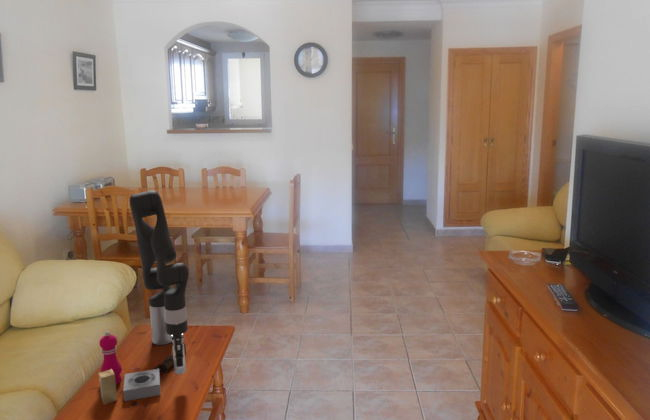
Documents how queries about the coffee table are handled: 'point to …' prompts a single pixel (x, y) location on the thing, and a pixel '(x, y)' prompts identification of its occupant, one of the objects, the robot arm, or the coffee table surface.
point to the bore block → (141, 384)
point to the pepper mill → (110, 355)
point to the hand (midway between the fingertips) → (179, 362)
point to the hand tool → (167, 363)
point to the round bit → (176, 369)
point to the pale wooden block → (108, 386)
